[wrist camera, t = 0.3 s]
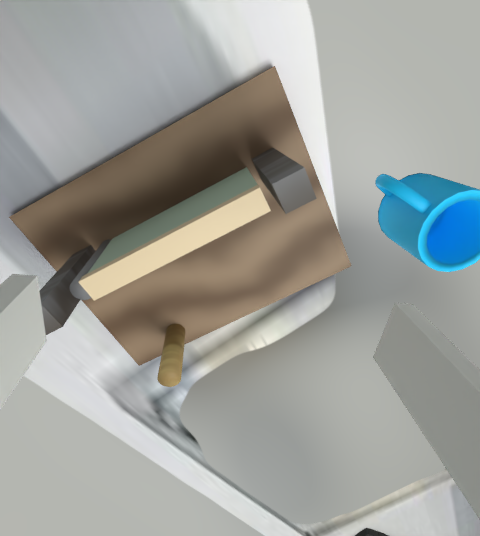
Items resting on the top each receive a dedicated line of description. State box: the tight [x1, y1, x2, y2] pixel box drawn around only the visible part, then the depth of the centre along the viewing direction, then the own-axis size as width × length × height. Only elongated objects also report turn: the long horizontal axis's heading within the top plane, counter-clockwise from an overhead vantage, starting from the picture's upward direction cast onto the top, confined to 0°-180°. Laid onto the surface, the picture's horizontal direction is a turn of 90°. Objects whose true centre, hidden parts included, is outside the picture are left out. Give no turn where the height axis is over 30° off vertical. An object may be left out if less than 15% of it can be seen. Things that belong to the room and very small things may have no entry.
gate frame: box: [9, 66, 351, 387], centre depth 32 cm, size 23×30×13 cm
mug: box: [376, 173, 480, 272], centre depth 34 cm, size 12×8×8 cm
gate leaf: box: [70, 167, 271, 301], centre depth 30 cm, size 2×18×10 cm, turn 117°
